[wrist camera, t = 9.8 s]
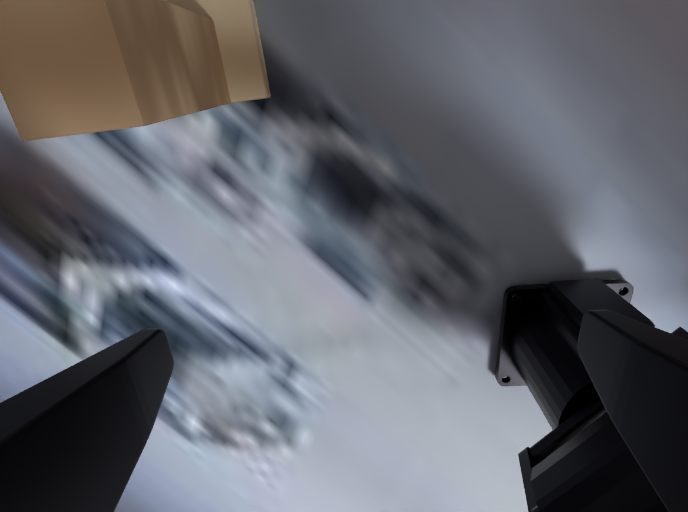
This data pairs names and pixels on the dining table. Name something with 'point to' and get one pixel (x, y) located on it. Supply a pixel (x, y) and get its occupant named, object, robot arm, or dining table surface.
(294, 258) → the dining table surface
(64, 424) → the robot arm
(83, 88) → the tan boxy piece
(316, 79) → the dining table surface
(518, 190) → the dining table surface
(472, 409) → the dining table surface
